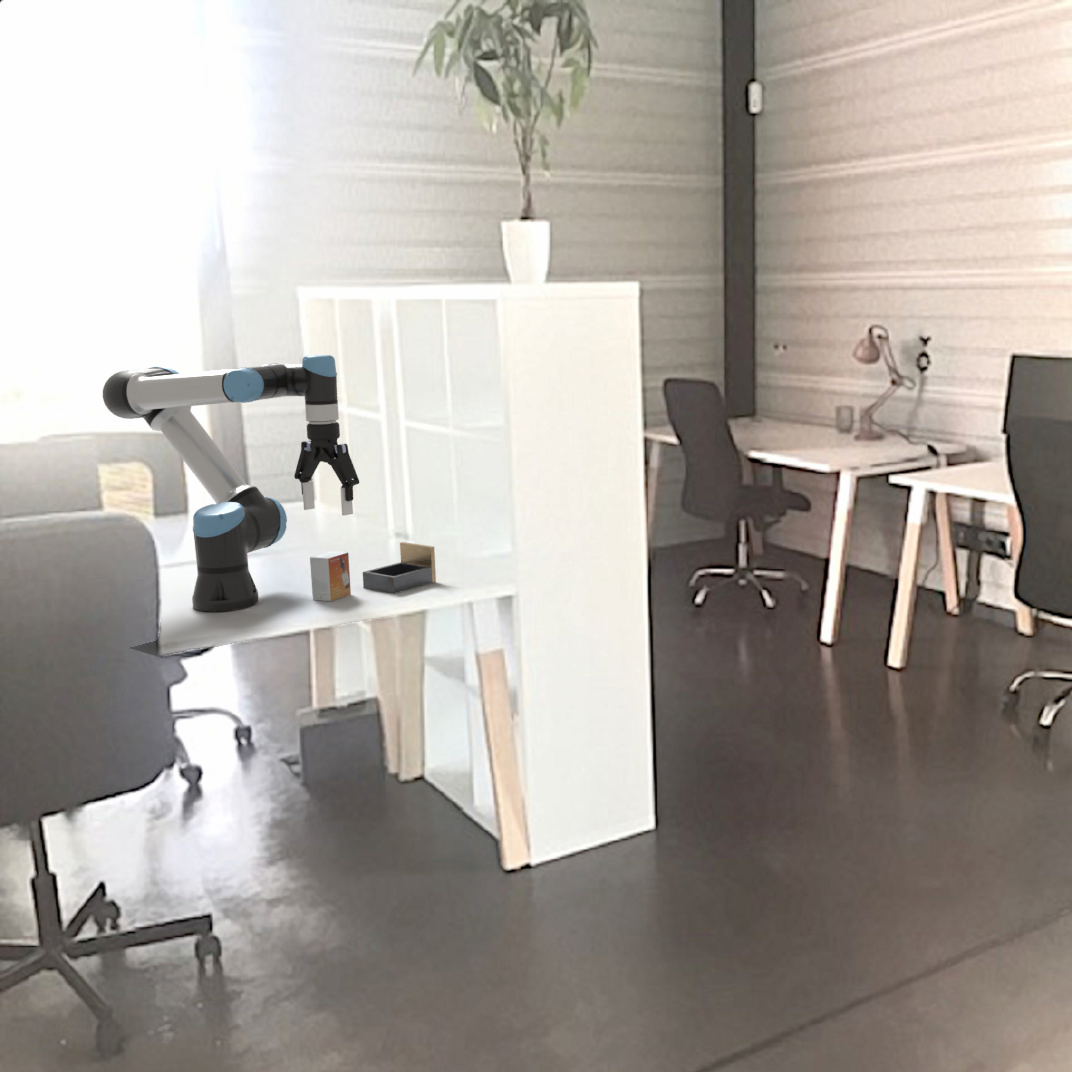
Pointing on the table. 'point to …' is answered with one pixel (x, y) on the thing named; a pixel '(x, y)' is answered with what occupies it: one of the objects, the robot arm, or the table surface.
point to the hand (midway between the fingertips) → (328, 511)
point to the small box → (330, 576)
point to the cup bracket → (404, 570)
